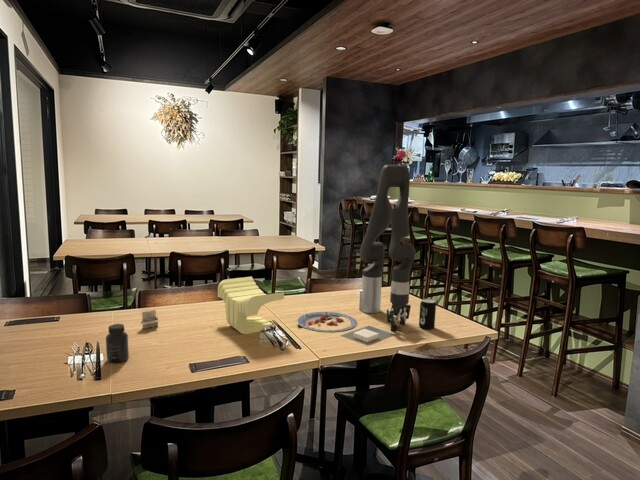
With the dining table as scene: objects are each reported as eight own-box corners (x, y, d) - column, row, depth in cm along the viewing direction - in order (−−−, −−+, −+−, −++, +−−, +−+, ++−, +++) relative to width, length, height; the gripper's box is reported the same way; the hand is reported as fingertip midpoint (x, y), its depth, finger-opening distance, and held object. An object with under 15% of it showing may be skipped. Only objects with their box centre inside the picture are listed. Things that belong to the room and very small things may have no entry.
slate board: (339, 339, 179) (340, 335, 179) (368, 329, 191) (368, 325, 191) (367, 349, 169) (367, 345, 169) (395, 338, 182) (396, 334, 181)
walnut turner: (411, 334, 187) (412, 326, 186) (403, 337, 183) (403, 329, 182) (386, 326, 196) (386, 318, 196) (377, 329, 192) (378, 321, 191)
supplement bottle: (111, 355, 157) (109, 322, 155) (131, 355, 157) (130, 322, 156) (103, 364, 150) (102, 329, 148) (124, 364, 151) (123, 329, 149)
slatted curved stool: (217, 320, 197) (217, 280, 195) (251, 314, 206) (251, 276, 203) (246, 342, 173) (246, 297, 170) (283, 335, 181) (284, 292, 179)
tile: (353, 332, 176) (367, 337, 171) (364, 328, 181) (378, 333, 176) (353, 337, 176) (367, 342, 172) (364, 333, 181) (378, 338, 177)
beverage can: (434, 330, 192) (436, 303, 190) (418, 329, 193) (420, 302, 191) (434, 325, 198) (435, 299, 196) (418, 324, 200) (420, 297, 198)
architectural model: (159, 329, 186) (159, 311, 185) (142, 332, 181) (141, 314, 180) (156, 326, 188) (156, 309, 187) (139, 330, 184) (138, 312, 183)
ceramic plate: (319, 312, 213) (319, 306, 212) (367, 324, 198) (368, 317, 198) (284, 326, 192) (284, 320, 191) (335, 341, 177) (335, 334, 177)
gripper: (397, 296, 178) (394, 337, 181) (417, 290, 188) (415, 329, 191) (381, 292, 183) (379, 332, 186) (402, 287, 193) (400, 325, 196)
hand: (397, 330), depth 188 cm, fingers open, 5 cm apart
